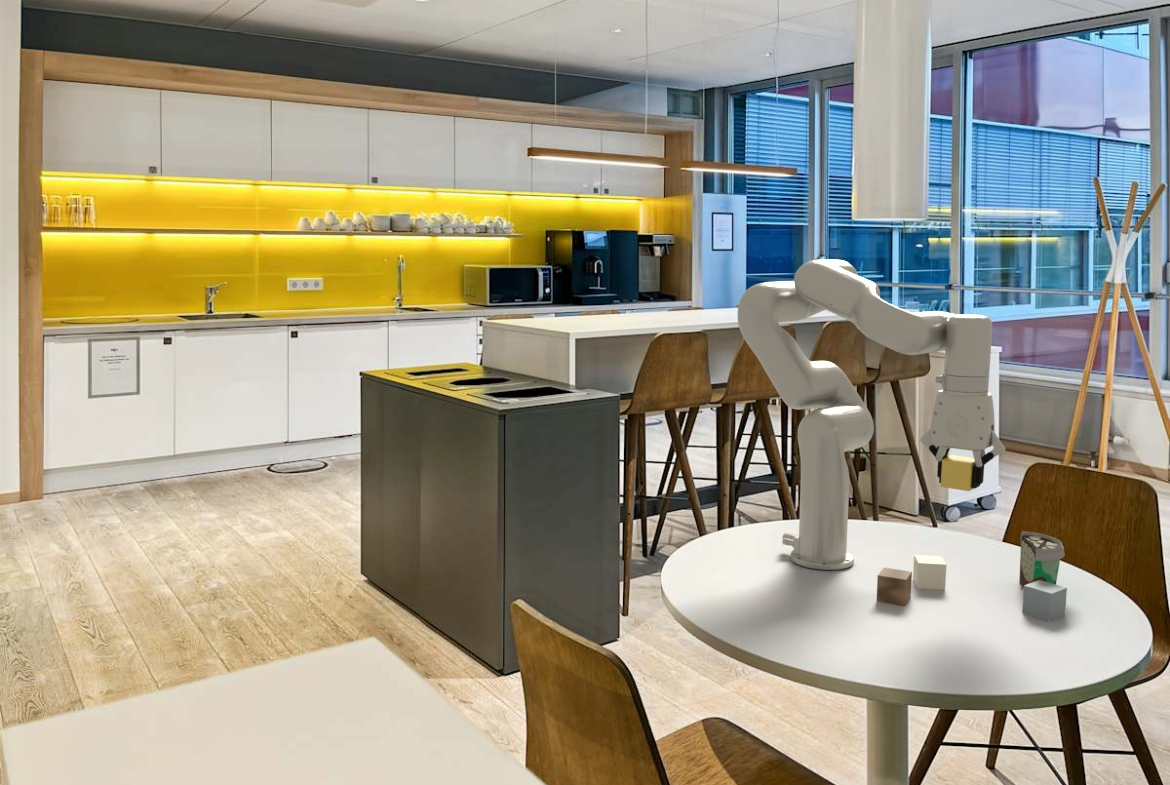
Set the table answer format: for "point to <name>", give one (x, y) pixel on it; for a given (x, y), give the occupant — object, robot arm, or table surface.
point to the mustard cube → (957, 472)
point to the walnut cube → (894, 586)
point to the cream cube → (929, 572)
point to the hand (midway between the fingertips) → (959, 483)
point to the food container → (1039, 558)
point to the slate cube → (1044, 600)
